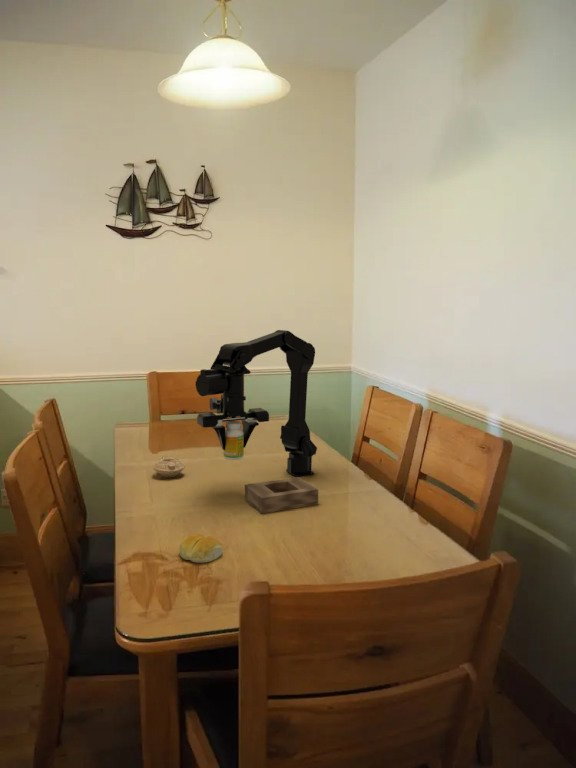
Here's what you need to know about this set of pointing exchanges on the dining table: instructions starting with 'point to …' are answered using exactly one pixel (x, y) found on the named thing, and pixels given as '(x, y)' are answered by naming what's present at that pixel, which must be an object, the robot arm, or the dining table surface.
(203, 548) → the bread roll
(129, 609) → the dining table surface
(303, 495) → the walnut holder
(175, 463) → the pottery oil lamp
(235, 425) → the supplement bottle
